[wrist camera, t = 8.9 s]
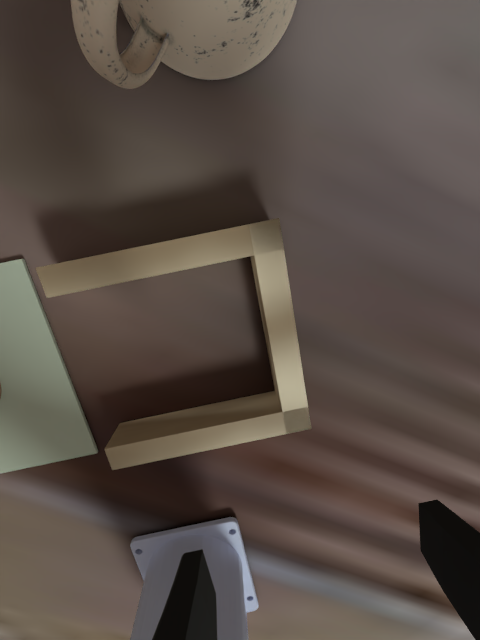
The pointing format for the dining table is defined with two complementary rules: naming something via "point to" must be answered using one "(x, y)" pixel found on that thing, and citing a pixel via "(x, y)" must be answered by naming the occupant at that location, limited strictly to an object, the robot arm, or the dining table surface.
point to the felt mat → (34, 382)
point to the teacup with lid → (179, 36)
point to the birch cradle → (279, 328)
